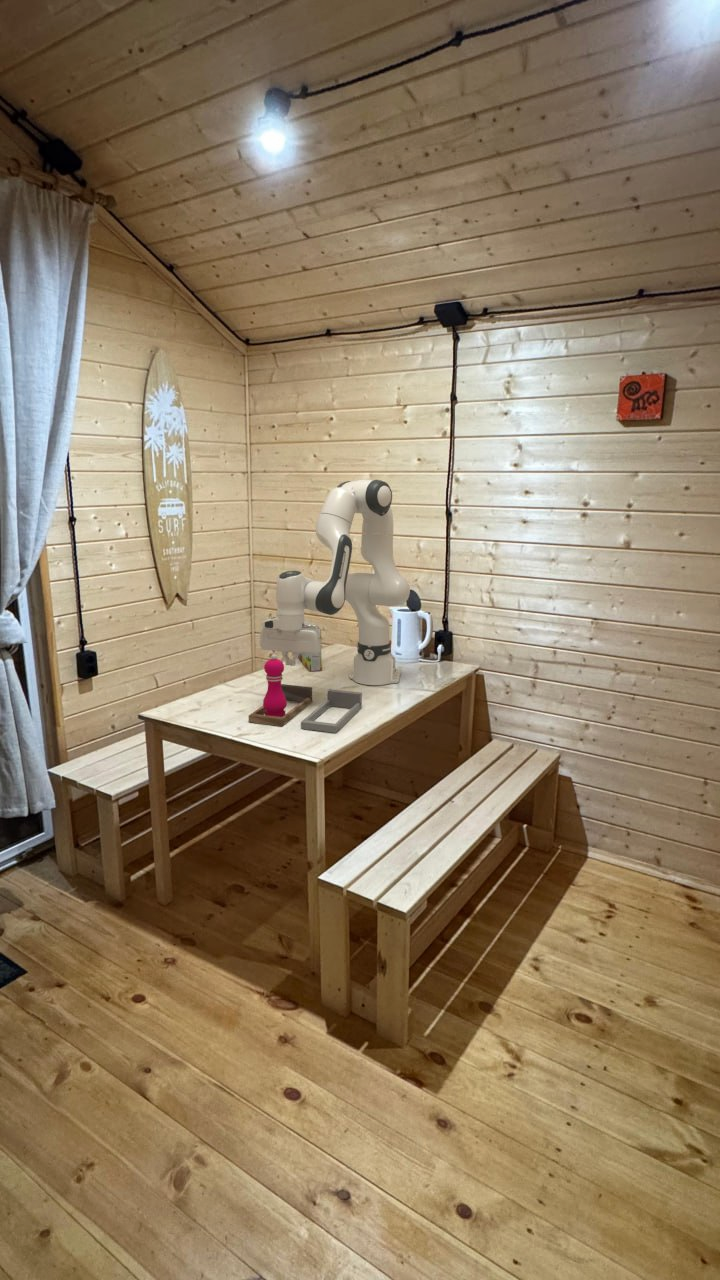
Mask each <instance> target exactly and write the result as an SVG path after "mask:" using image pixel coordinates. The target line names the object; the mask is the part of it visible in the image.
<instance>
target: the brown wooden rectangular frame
mask: <svg viewBox="0 0 720 1280" xmlns="http://www.w3.org/2000/svg"><path fill="white" fill-rule="evenodd" d="M281 688H282V691H283V693H284V695H285V697H286V701H287V702H291V703H298V704H297V705H296V706H294V707H293V708H292V709H291V710H289V711H288V712H287V713H285V715H284V716H283V717H276V716H268V715H265V711H266V709H265V708H264V706H263V705H262V706H260V707H259V708H258V709H255V711H253V712H251V713H250V714H248V723H253V724H254V723H255V724H263V725H270V726H278V727H279V726H280V727H283V726H284V725H286V724H287V723H288V722H290V720H292V719H293V718H294V717H296V716H297V715H298V714H300V713H301V711H303V710H304V709H306V708H307V707H308V706H310V704H312V703H313V687H312V686H306V685H305V686H302V685H293V684H285V683H281Z"/></svg>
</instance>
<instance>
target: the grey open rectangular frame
mask: <svg viewBox="0 0 720 1280" xmlns="http://www.w3.org/2000/svg"><path fill="white" fill-rule="evenodd" d="M326 695H327V700H325V701H324V702H323V703H322V704H321V705H320V706H318V707H317V708H315V710H313V711H312V712H311V713H309V715H307V716H306V717H304V719H302V721H300V729H303V730H308V731H309V730H311V731H317V732H326V733H334V734H337V733H338V732H339V731H340V730H341V729H342V728H343V726H345V724H347V723H348V722H349V721H350V720H351V719H352V718H353V717H354V716H355V715H356V714H357V713H358V712H359V711H360V710H361V709H362V707H363V692H359V691H353V690H352V691H351V690H342V689H332V688H329V689H328V690H327V694H326ZM330 707H335V708H342V709H343V708H345V709H349V710H348V711H347V712H345V713H344V715H342V717H341V718H340V719H338V720H337V721H336V723H335V722H334V723H333V722H324V721H318V720H317V721H316V719H317V718H318V717H320V716H321V715H322V714H323V713H324V712H325V711H327V710H328V709H329V708H330Z"/></svg>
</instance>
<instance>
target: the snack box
mask: <svg viewBox="0 0 720 1280" xmlns="http://www.w3.org/2000/svg"><path fill="white" fill-rule="evenodd" d="M304 624H310V625H312V624H311V623H310V622H309V621H304ZM320 638H321V639H322V636H321V637H320ZM322 658H323V657H322V650H321V651H320V652H319V653H318V654H305V653H299V656H298V657H297V660H298V659H299V660H298V661H300V662H301V663H302V665H303V666H304V667H305V668H306V670H307V671H308V672H309V673H311V672H321V671H322V670H323V668H322V667H323V666H322V665H323V663H322Z"/></svg>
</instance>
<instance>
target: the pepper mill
mask: <svg viewBox="0 0 720 1280" xmlns="http://www.w3.org/2000/svg"><path fill="white" fill-rule="evenodd" d="M263 670H264V673H266V674H265V679H266V681H267V691H266V693H265V694H264V695H265V696H264V697H263V701H262V702H263V703H262V706H264V708H265V709H266V711H265V713H264V715H268V716H276V717H283V716H284V715H285V714H286V710H285V709H286V707H287V704H288V703H287V702H288V701H286V697H285V695H284V693H283V691H282V688H281V684H282V681H283V674H282V673H284V670H285V665H284V663H283V661H282V660H281V659H278V656H277V654H275V653H273V654H272V655H271V656H270V659H269V660H267V661H265V663H264V665H263Z"/></svg>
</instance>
